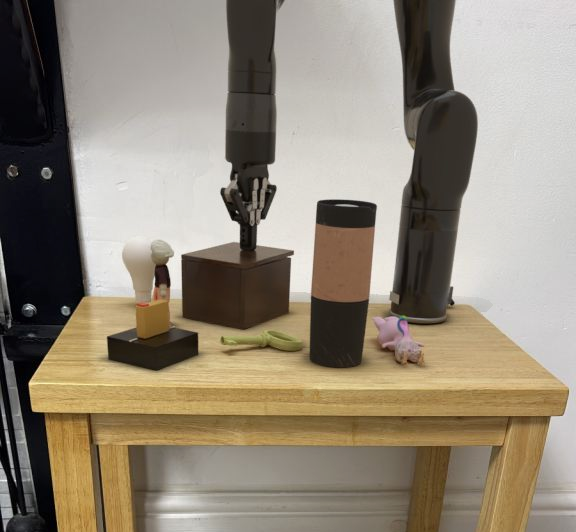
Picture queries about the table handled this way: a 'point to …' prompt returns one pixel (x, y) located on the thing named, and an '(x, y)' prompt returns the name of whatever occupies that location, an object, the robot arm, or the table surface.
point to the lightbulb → (140, 266)
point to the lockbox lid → (237, 255)
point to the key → (265, 340)
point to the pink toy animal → (398, 339)
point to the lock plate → (153, 348)
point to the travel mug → (341, 281)
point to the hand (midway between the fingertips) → (248, 249)
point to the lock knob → (152, 318)
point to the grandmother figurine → (161, 271)
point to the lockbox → (235, 292)
